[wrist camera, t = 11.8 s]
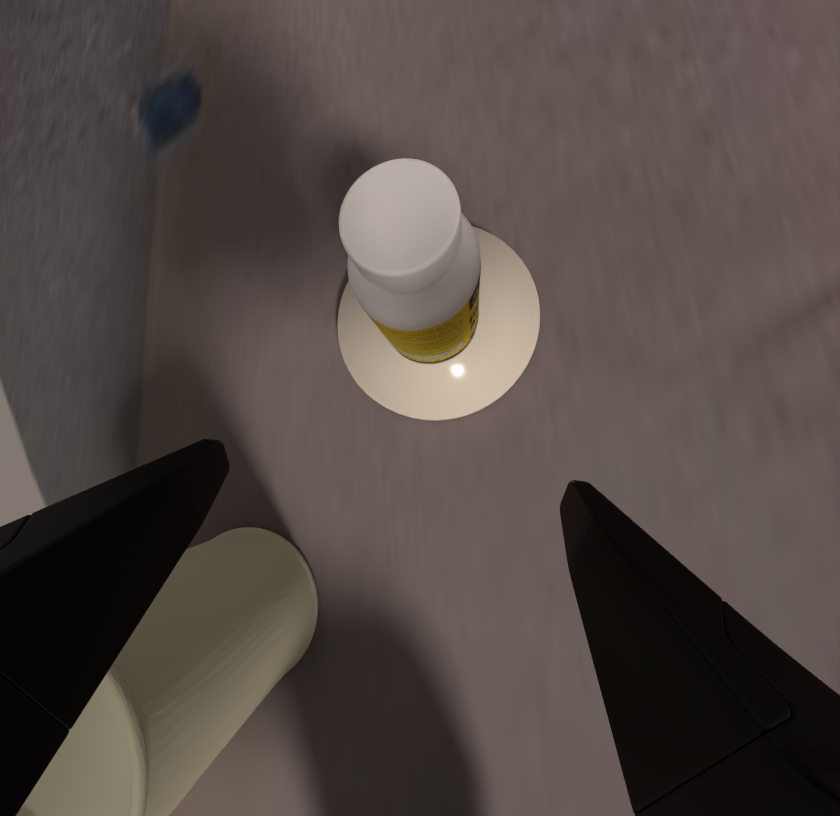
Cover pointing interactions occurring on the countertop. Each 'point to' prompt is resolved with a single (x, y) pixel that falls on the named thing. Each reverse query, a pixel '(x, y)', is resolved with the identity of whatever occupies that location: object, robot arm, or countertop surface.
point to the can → (185, 679)
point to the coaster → (468, 372)
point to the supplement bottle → (413, 259)
